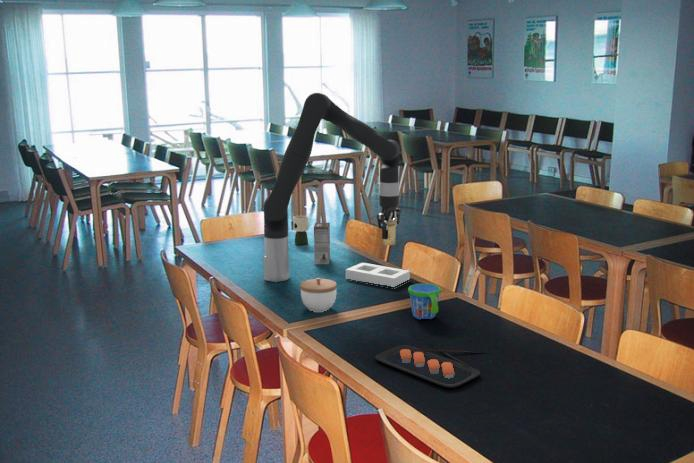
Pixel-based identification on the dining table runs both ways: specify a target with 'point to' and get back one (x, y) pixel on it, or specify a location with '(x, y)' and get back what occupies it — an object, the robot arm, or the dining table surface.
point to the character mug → (300, 229)
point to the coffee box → (322, 243)
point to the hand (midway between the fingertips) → (388, 237)
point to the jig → (377, 274)
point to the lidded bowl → (318, 294)
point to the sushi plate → (432, 363)
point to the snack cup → (424, 300)
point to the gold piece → (390, 233)
